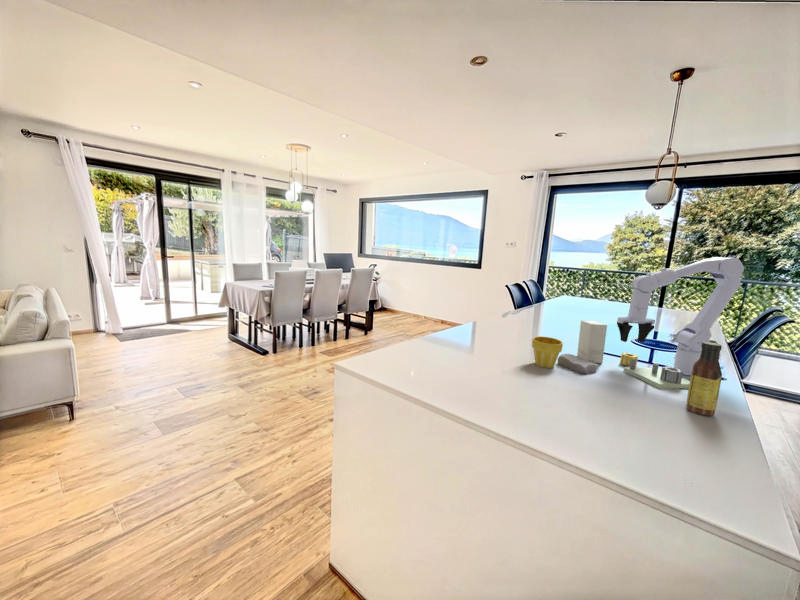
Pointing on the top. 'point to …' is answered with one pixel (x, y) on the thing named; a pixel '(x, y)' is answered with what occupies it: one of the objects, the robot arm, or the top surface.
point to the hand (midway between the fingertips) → (632, 341)
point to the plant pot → (546, 351)
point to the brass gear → (628, 358)
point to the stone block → (576, 363)
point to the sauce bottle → (705, 381)
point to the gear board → (654, 376)
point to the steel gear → (671, 375)
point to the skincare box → (592, 341)
